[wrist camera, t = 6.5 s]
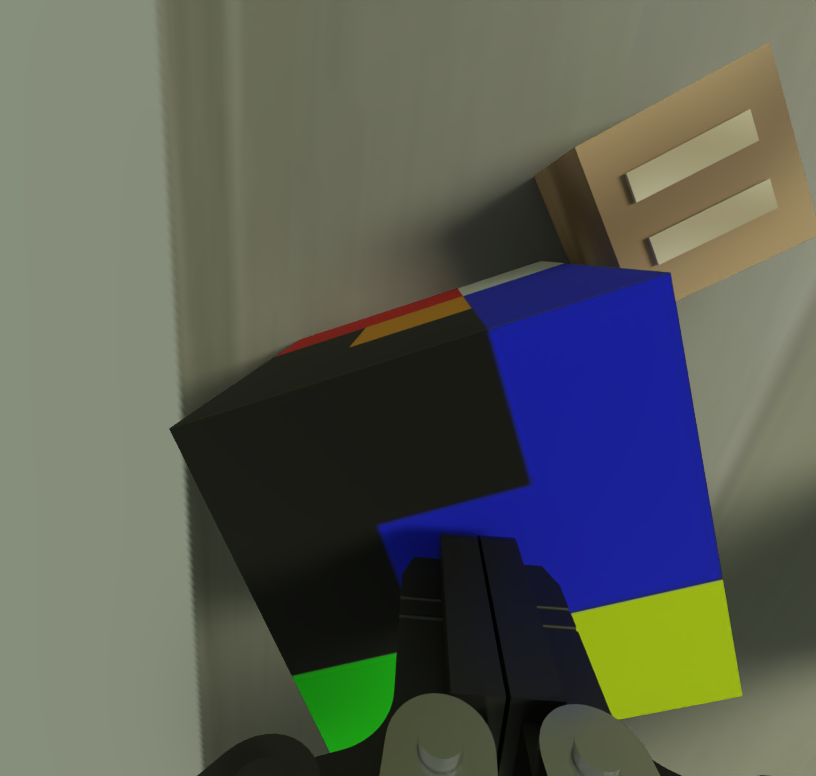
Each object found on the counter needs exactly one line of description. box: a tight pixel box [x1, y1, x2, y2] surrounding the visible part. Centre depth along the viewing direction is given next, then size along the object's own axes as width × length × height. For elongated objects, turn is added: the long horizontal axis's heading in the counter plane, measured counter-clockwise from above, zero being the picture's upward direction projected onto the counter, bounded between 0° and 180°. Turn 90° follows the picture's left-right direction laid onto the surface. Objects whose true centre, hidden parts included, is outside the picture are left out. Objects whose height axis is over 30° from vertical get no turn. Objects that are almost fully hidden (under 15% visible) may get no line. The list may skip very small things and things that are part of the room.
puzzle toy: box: [170, 261, 742, 753], centre depth 15 cm, size 10×10×10 cm
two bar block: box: [534, 42, 816, 301], centre depth 15 cm, size 5×5×5 cm
